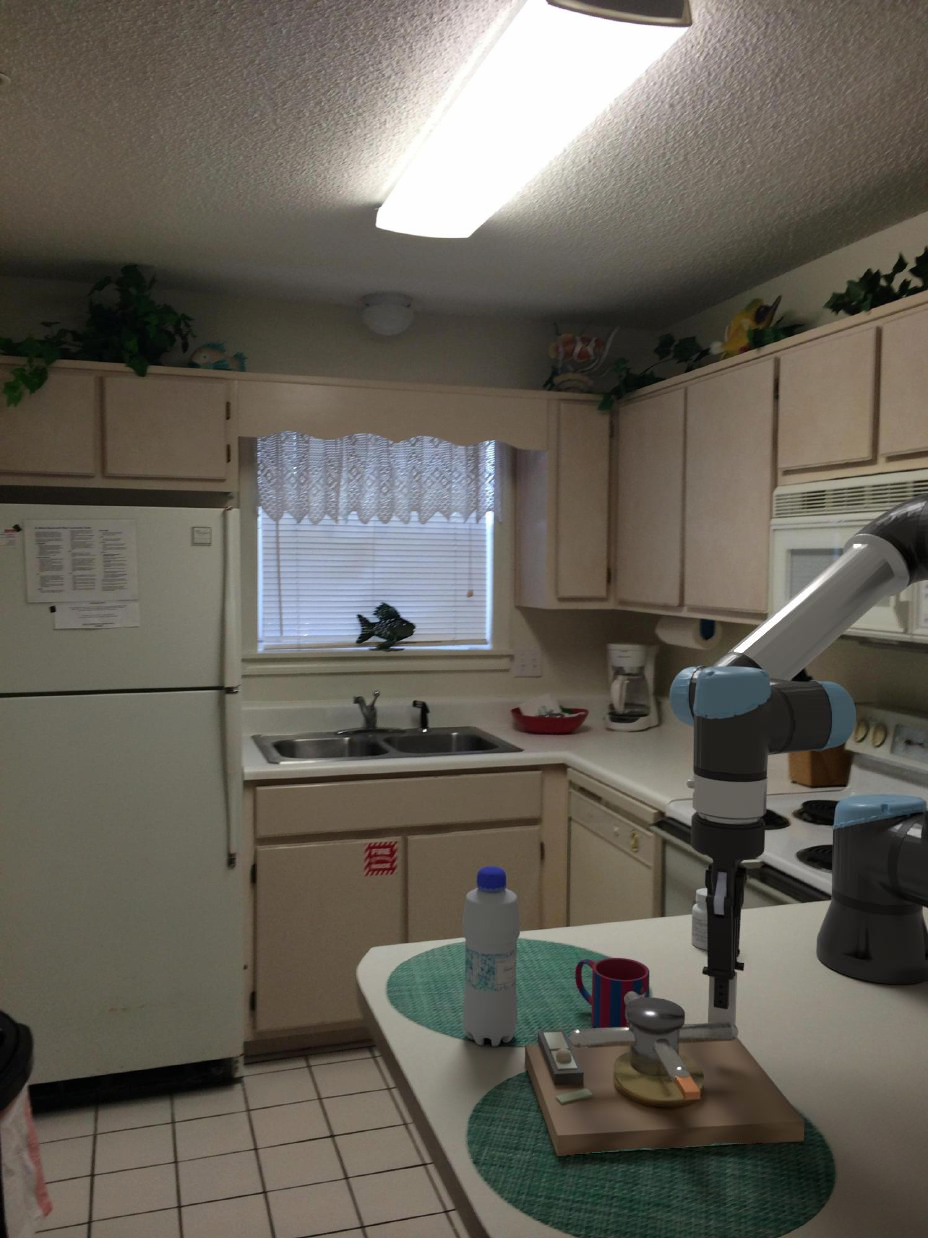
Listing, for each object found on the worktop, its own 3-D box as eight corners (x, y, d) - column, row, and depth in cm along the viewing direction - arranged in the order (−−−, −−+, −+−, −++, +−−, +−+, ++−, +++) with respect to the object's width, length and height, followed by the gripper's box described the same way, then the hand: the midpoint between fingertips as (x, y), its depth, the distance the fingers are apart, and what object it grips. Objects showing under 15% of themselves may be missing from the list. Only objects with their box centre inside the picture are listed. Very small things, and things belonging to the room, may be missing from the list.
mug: (620, 1044, 112) (621, 986, 112) (560, 1011, 120) (561, 957, 120) (660, 1027, 116) (661, 971, 116) (600, 997, 124) (601, 944, 124)
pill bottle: (715, 938, 144) (717, 886, 143) (727, 950, 139) (729, 896, 139) (686, 939, 143) (688, 887, 143) (698, 951, 139) (699, 898, 138)
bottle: (500, 1057, 109) (502, 881, 108) (449, 1041, 112) (451, 870, 111) (529, 1033, 115) (531, 864, 113) (480, 1018, 118) (481, 855, 117)
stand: (732, 1049, 111) (734, 1011, 111) (803, 1141, 94) (805, 1096, 94) (524, 1060, 108) (524, 1021, 108) (557, 1156, 91) (557, 1110, 91)
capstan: (705, 1029, 111) (707, 970, 111) (784, 1134, 91) (786, 1063, 90) (551, 1036, 109) (552, 977, 109) (596, 1146, 89) (598, 1073, 88)
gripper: (700, 797, 111) (694, 1001, 112) (682, 825, 99) (675, 1054, 100) (770, 804, 108) (763, 1013, 109) (759, 834, 96) (752, 1069, 97)
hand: (721, 1032), depth 105 cm, fingers closed
